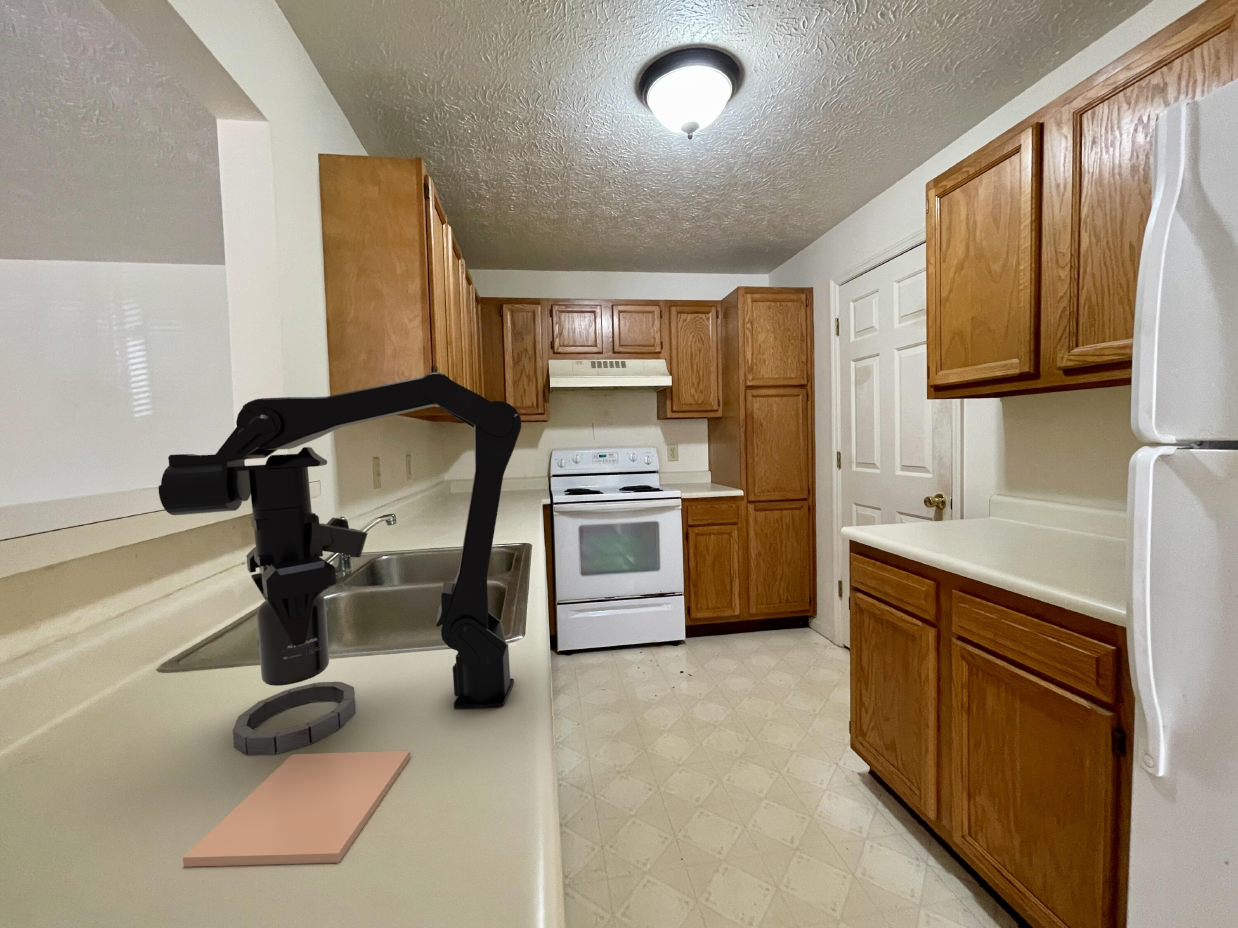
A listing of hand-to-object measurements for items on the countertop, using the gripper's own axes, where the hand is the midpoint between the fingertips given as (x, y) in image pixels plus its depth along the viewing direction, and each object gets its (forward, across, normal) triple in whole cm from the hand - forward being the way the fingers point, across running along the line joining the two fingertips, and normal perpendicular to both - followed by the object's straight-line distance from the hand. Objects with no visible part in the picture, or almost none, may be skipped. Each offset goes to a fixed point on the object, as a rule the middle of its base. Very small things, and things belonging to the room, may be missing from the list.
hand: (294, 636), depth 58 cm
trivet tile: (+12, -15, +2) cm, 19 cm away
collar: (+12, +3, 0) cm, 12 cm away
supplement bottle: (+5, 0, 0) cm, 5 cm away
